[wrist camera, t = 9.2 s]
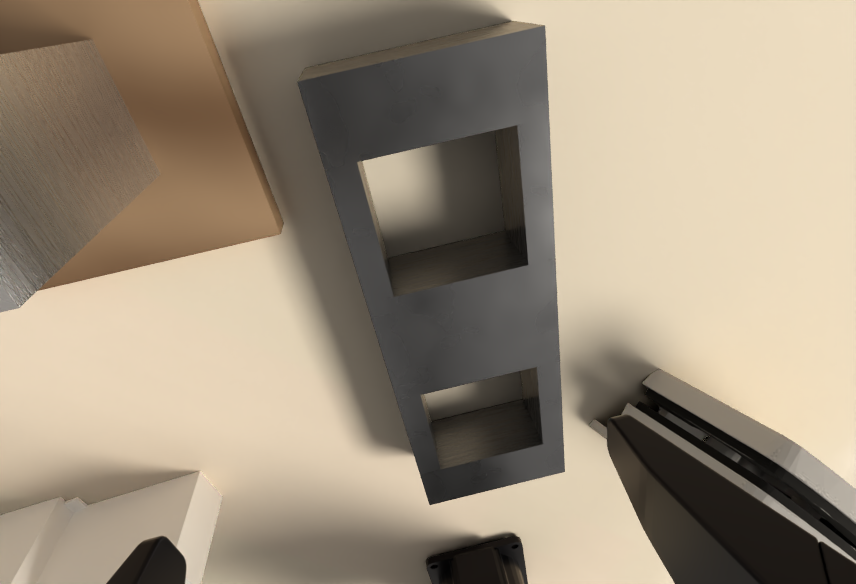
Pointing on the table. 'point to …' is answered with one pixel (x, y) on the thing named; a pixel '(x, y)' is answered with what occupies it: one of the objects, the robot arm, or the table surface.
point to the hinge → (751, 459)
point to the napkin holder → (107, 533)
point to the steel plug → (61, 161)
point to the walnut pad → (160, 129)
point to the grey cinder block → (456, 246)
